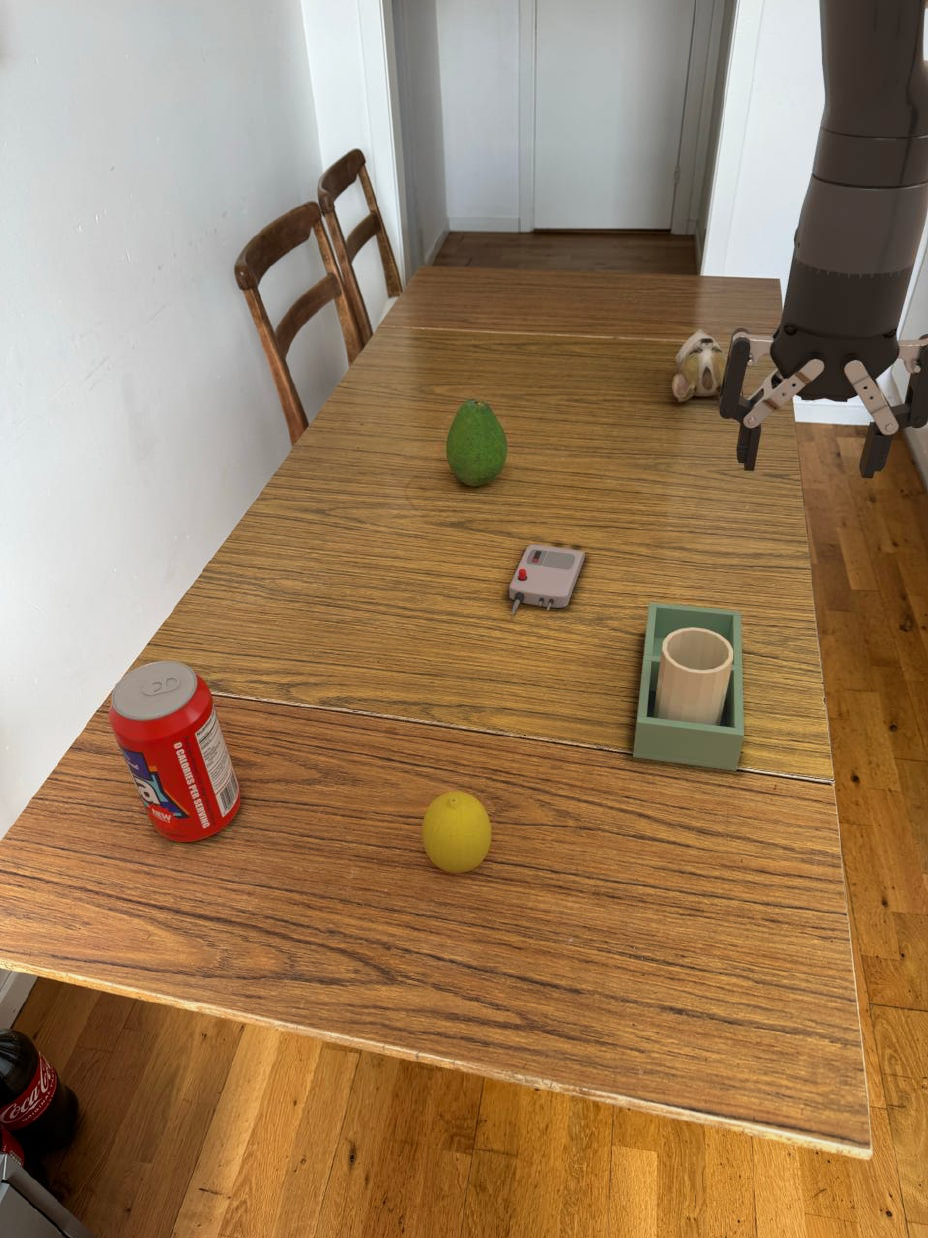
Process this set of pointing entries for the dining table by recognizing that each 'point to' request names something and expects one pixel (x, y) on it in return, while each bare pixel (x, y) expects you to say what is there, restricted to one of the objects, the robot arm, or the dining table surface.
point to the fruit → (476, 444)
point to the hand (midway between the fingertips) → (806, 469)
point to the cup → (693, 676)
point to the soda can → (175, 750)
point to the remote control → (545, 576)
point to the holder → (685, 737)
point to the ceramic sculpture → (699, 368)
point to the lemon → (456, 832)
